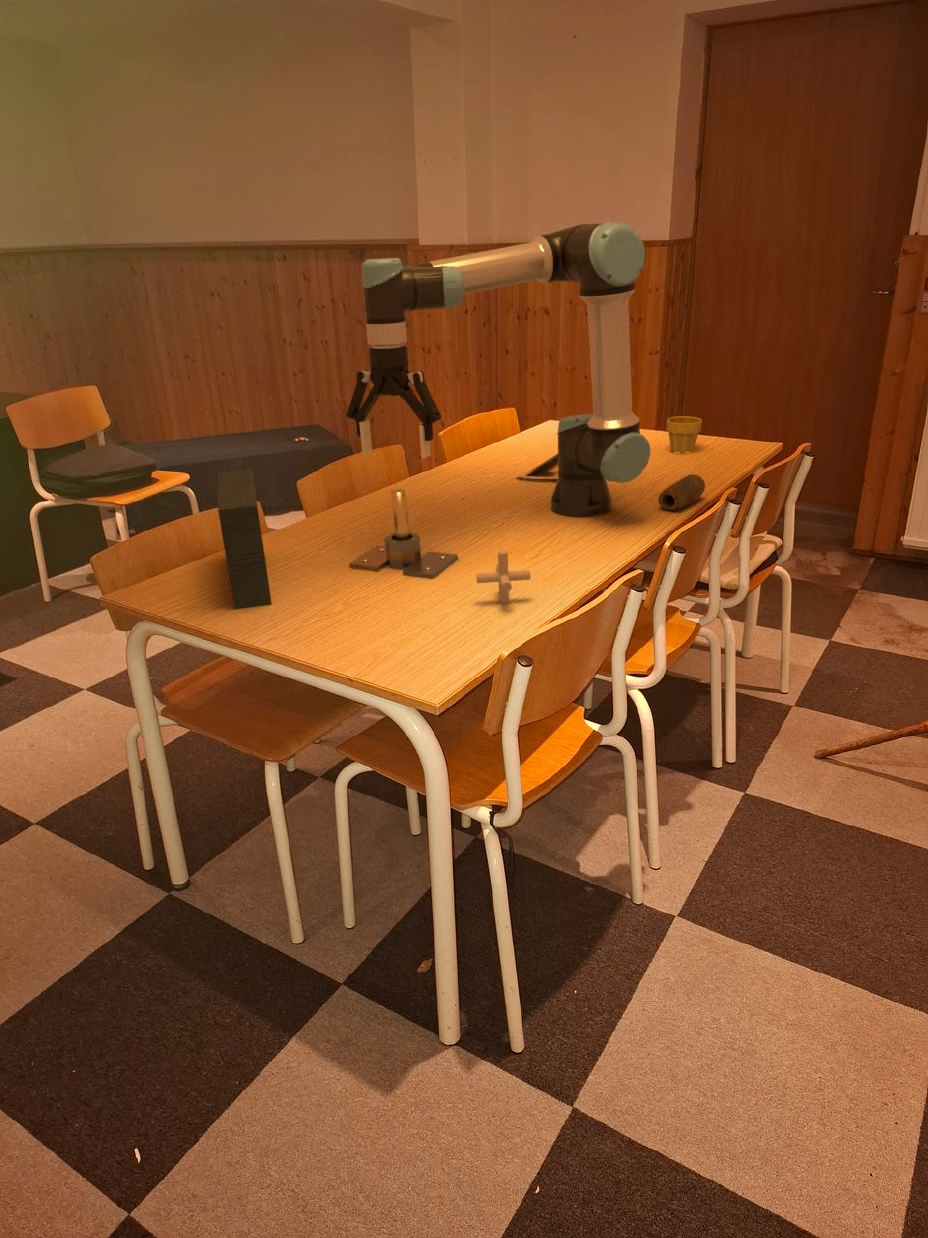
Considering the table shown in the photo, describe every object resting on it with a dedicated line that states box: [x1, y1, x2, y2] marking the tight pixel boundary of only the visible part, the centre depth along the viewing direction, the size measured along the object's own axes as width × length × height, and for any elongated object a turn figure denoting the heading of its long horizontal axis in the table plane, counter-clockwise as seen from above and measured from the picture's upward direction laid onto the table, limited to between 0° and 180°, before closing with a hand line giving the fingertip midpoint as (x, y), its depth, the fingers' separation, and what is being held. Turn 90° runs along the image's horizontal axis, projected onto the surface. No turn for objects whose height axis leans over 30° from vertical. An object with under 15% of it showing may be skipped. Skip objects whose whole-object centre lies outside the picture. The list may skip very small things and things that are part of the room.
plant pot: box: [666, 415, 703, 453], centre depth 258 cm, size 10×10×10 cm
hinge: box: [348, 531, 459, 580], centre depth 179 cm, size 20×12×6 cm, turn 65°
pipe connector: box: [475, 549, 531, 604], centre depth 158 cm, size 10×10×10 cm
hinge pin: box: [390, 488, 410, 541], centre depth 177 cm, size 3×3×16 cm
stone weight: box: [658, 473, 706, 511], centre depth 209 cm, size 15×7×7 cm, turn 144°
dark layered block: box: [217, 468, 272, 610], centre depth 171 cm, size 29×7×20 cm, turn 15°
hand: (396, 454), depth 171 cm, fingers open, 13 cm apart
